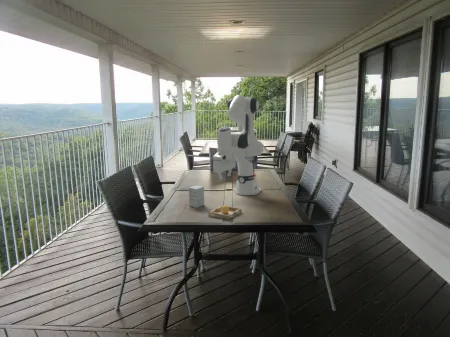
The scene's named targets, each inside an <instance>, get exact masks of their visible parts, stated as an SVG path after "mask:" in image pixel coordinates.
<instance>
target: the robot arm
mask: <svg viewBox="0 0 450 337" xmlns="http://www.w3.org/2000/svg"><path fill="white" fill-rule="evenodd" d="M226 108H227V111H228V112H227V113H228V114H227V116H228V117H229V119H230V120H231V121H232V122H233V123H236V124H237V125H238V126H237V131H233V132H232V129H231V127H227V126H225V127H224V126H223V127H219V128H218V129H217V136H216V142H217V151H216V153H215V154H213V155H212V160H213V161H212V172H213V173H214V174H217V176H218V180H223V177H224V176H223V175H222V173H224V172H226V171H227V174H226V176H227V177H231V175H232V174H231V173H232V172H233V169H235V168H236V165H237V175H236V178H237V180H236V181H235V182H236V184H235V189H234V193H235V194H237V195H240V196H256V195H258V194H259V193H260V192H261V191H262V188H260V187H259V182H257V180H255V177H256V173H254V163H252V162H251V161H250V160H248V159H246V158H245V157H257V156H260V155H262V153H263V152H264V145H263V144H262V142H261V141H259V140H258V139H257V137H256V135H255V132H254V131H255V128H254V114H255V113H257V112H258V110H259V108H260V103H259V99H257V98H256V97H253V96H252V97H249V96H244V95H242V94H237V95H235V96H233V97H231V98H229V99H228V100H227V103H226Z"/></svg>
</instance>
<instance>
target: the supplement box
mask: <svg viewBox="0 0 450 337" xmlns="http://www.w3.org/2000/svg"><path fill="white" fill-rule="evenodd" d="M188 202H189V204H188V205H189V207H192V206H193V207H194V208H200V207H203V206H205V187H204V186H201V185H193V186H190V187H188Z"/></svg>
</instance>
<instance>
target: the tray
mask: <svg viewBox="0 0 450 337" xmlns="http://www.w3.org/2000/svg"><path fill="white" fill-rule="evenodd" d="M222 206H224V204H223V205H220V206H218V207H215V208H214V209H213V210H212V209H211V210H210V211H208V214H207V215H208V217H212V218H217V219H222V220H227V221H229V220H231V219H233V218H234V217H237V216H238V215H239V214H242V211H243V210H242V209H243V208H240V207H234V206H230V205H227V206H228V207H229V212H228V213H226V214H225V213H222V211H221V208H222Z"/></svg>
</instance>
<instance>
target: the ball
mask: <svg viewBox="0 0 450 337" xmlns="http://www.w3.org/2000/svg"><path fill="white" fill-rule="evenodd" d="M223 205H224V204H223ZM221 206H222V205H221ZM228 206H229V205H227V204H226V205H224V206H222V208H221V211H222V213H225V214H226V213H228V212H229V207H230V206H229V207H228Z"/></svg>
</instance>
